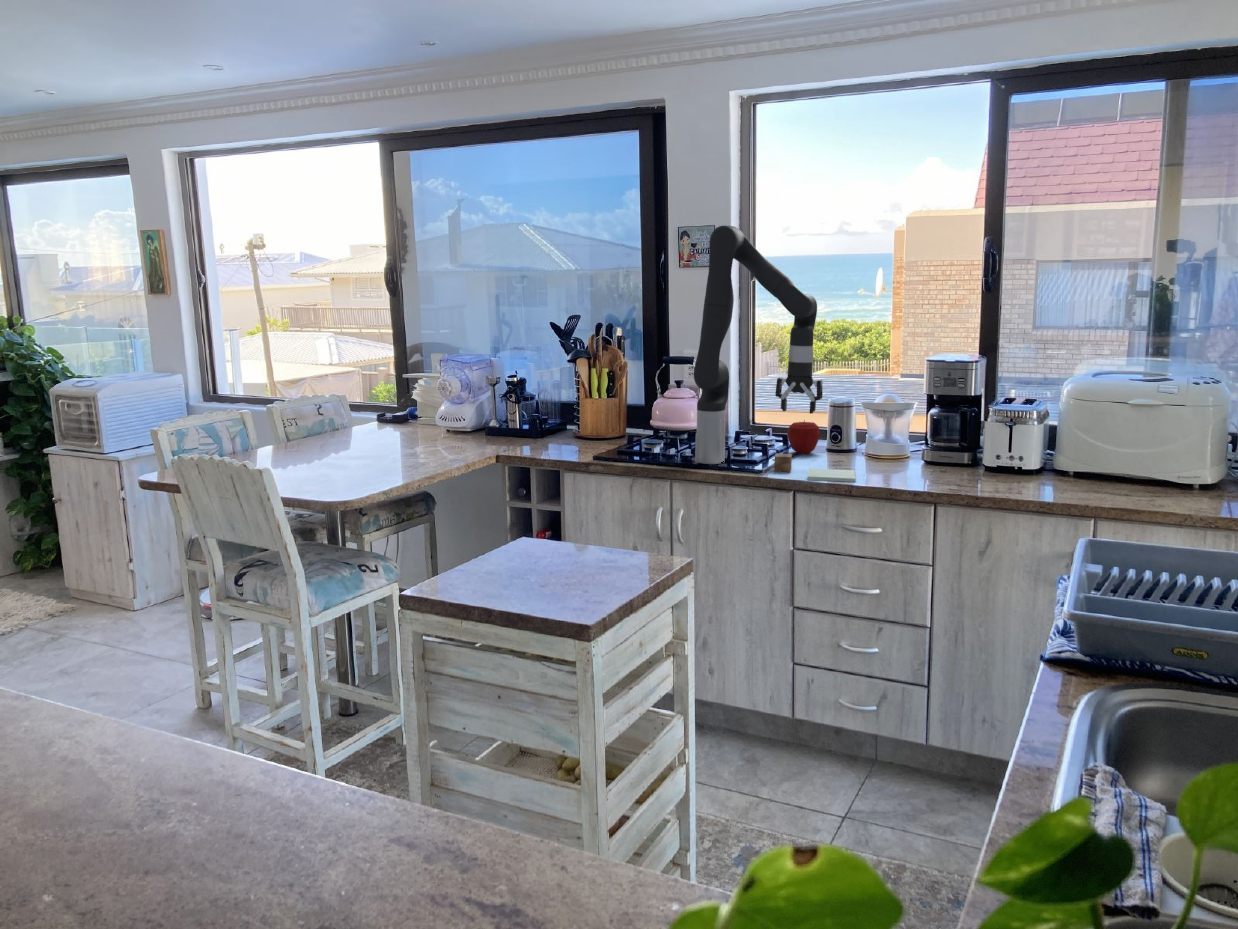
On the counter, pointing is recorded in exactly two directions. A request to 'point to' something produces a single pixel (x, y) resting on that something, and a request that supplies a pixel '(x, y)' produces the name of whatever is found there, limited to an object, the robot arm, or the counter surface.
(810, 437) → the apple
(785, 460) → the walnut cube
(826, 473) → the sage board
